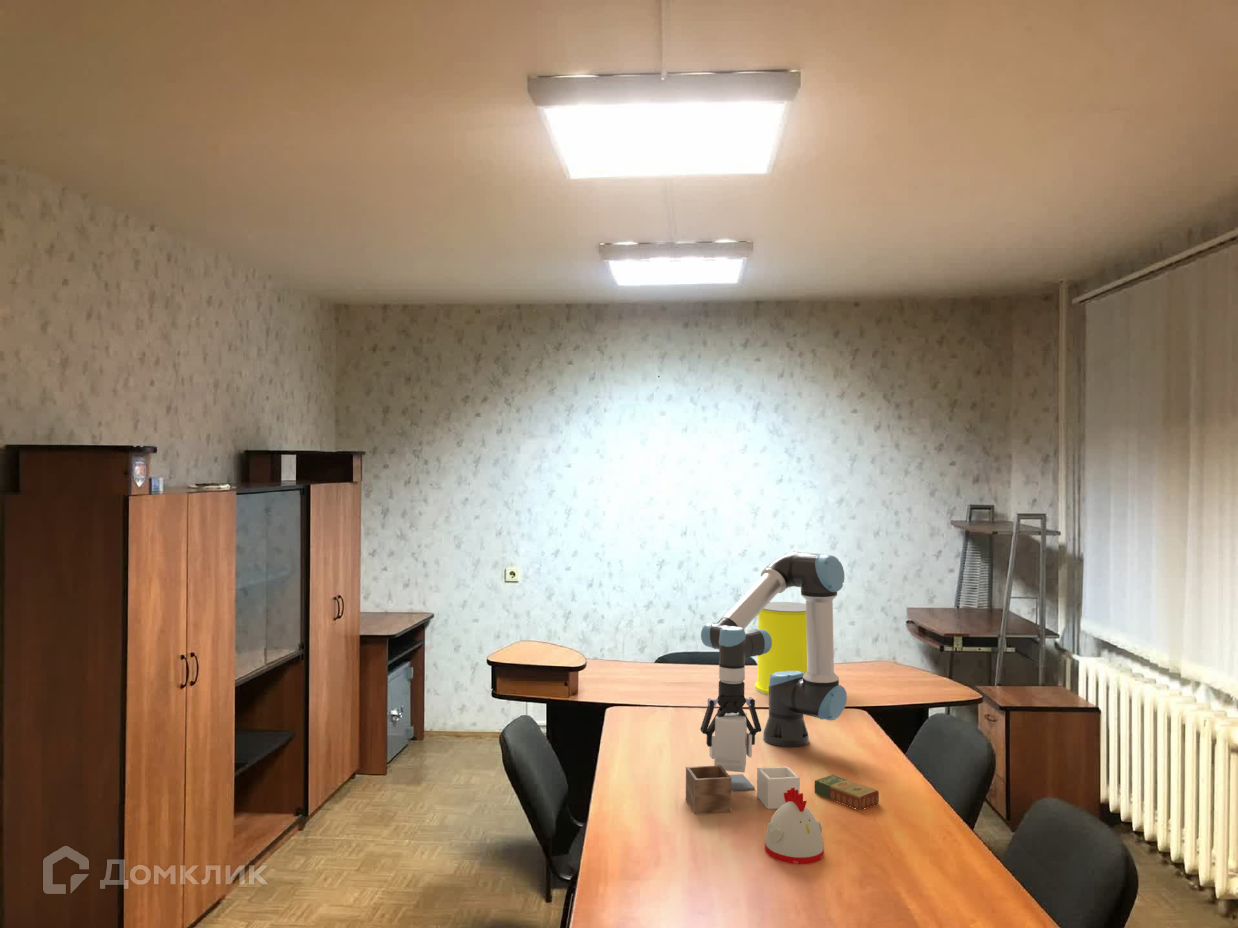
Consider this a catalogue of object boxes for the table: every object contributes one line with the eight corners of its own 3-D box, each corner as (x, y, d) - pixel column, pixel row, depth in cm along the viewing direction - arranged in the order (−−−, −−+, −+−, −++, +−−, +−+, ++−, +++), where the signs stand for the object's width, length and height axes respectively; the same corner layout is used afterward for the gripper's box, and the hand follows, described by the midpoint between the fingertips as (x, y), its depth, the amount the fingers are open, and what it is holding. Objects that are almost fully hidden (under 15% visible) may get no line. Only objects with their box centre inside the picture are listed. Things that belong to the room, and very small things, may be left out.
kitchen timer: (786, 868, 195) (787, 803, 195) (753, 844, 208) (754, 782, 208) (835, 858, 201) (836, 794, 201) (801, 835, 213) (801, 775, 213)
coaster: (742, 776, 255) (742, 774, 255) (754, 789, 244) (754, 787, 244) (707, 777, 253) (707, 775, 253) (717, 791, 242) (717, 789, 242)
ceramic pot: (787, 794, 240) (787, 766, 240) (799, 806, 231) (799, 777, 231) (757, 796, 239) (757, 767, 239) (767, 808, 230) (768, 779, 230)
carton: (859, 812, 229) (859, 796, 229) (813, 793, 242) (813, 778, 242) (879, 805, 234) (879, 789, 234) (832, 787, 247) (832, 772, 247)
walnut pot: (720, 797, 237) (720, 765, 237) (731, 811, 227) (731, 777, 228) (685, 799, 236) (685, 766, 236) (694, 813, 226) (695, 779, 226)
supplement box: (745, 773, 243) (745, 720, 243) (713, 770, 245) (714, 718, 245) (746, 762, 252) (747, 711, 252) (716, 760, 253) (717, 709, 254)
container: (754, 680, 374) (755, 600, 374) (814, 683, 370) (815, 602, 371) (755, 695, 348) (756, 610, 349) (820, 698, 344) (820, 612, 345)
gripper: (764, 676, 254) (763, 750, 254) (690, 678, 250) (689, 753, 250) (773, 682, 247) (772, 759, 246) (696, 684, 243) (695, 762, 243)
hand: (730, 756), depth 248 cm, fingers closed on supplement box, 10 cm apart
